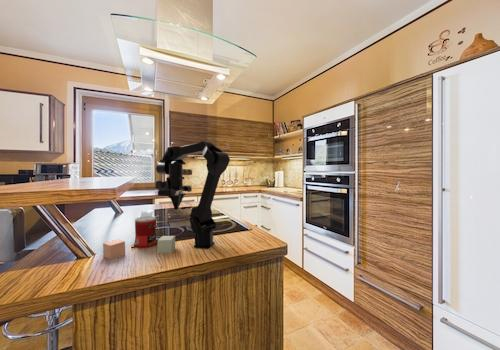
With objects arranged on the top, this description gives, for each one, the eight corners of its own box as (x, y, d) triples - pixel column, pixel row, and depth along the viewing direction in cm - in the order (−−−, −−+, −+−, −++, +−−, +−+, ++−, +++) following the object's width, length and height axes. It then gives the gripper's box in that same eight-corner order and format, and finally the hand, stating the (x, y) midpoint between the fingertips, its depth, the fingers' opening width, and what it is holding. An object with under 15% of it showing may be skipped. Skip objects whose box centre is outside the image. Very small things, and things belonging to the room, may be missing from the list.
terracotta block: (125, 254, 80) (124, 241, 79) (110, 259, 75) (110, 245, 75) (117, 252, 82) (117, 239, 82) (103, 256, 78) (103, 243, 78)
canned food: (151, 248, 86) (150, 220, 85) (131, 248, 86) (130, 220, 86) (159, 241, 94) (159, 216, 93) (141, 241, 94) (141, 216, 93)
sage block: (175, 248, 86) (175, 235, 86) (171, 253, 81) (171, 240, 81) (162, 248, 86) (162, 236, 86) (157, 253, 81) (157, 240, 81)
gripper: (171, 174, 108) (171, 205, 108) (145, 175, 89) (146, 213, 90) (191, 174, 105) (192, 206, 106) (170, 175, 87) (170, 214, 88)
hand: (176, 209), depth 97 cm, fingers closed
